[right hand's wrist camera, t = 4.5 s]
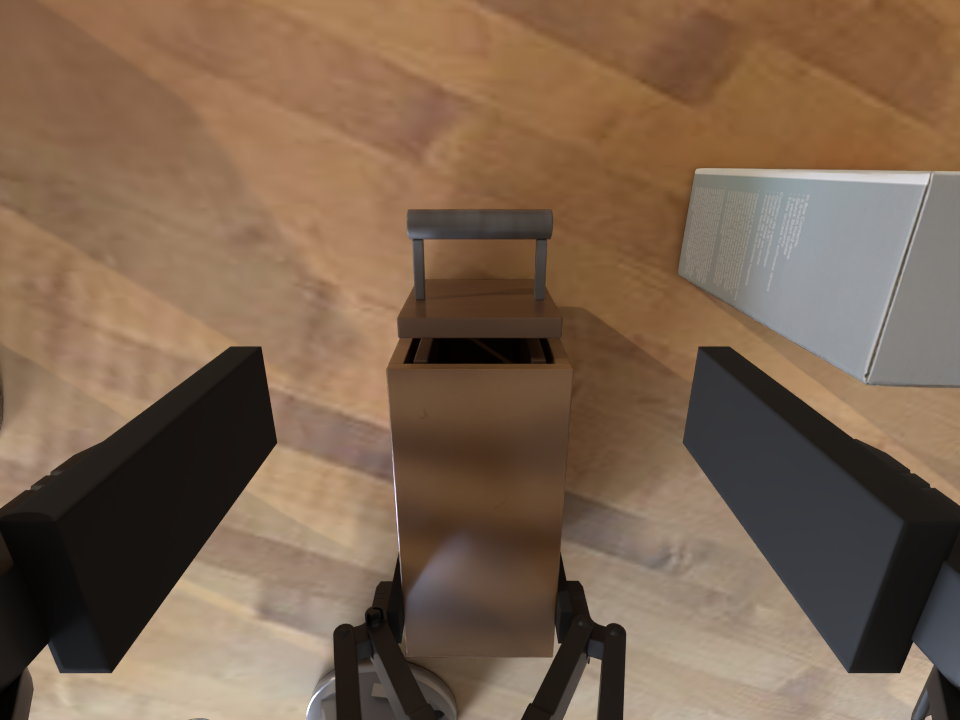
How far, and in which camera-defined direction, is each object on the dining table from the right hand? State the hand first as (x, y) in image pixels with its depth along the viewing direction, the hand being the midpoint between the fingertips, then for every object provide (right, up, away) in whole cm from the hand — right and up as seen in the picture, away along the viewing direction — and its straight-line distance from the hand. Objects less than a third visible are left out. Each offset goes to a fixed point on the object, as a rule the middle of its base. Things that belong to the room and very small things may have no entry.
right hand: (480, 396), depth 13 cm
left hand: (0, -14, +25) cm, 29 cm away
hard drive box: (+22, +10, +23) cm, 33 cm away
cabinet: (0, -5, +29) cm, 29 cm away
